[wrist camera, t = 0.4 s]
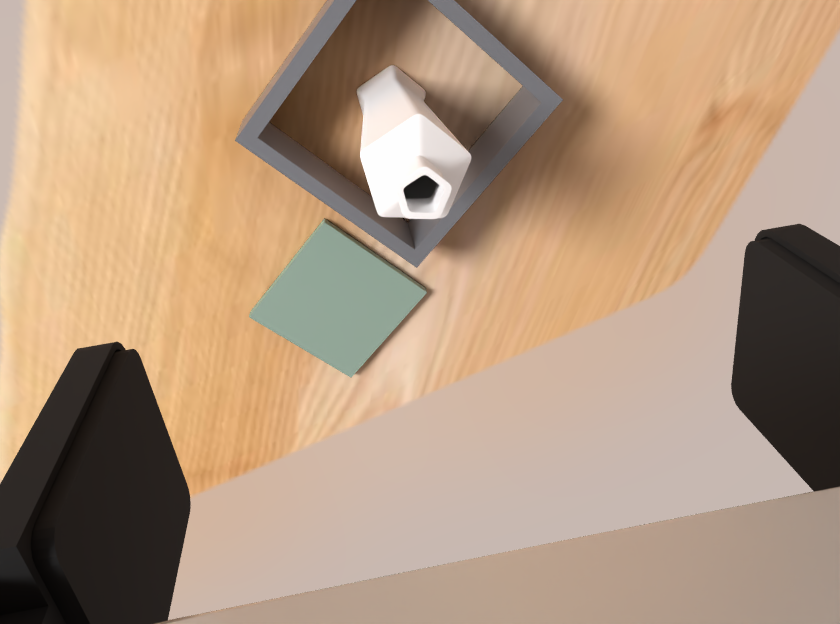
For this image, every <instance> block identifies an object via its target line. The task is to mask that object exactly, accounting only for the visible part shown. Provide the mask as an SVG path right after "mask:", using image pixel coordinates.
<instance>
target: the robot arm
mask: <svg viewBox="0 0 840 624" xmlns="http://www.w3.org/2000/svg"><path fill="white" fill-rule="evenodd" d="M731 387H732V388H731V389H732V395H733V398H734V401H735V403H736V405H737V406H738V408H739V409H740V410H741V411H742V412H743V413H744V415H745V416H746V417H747V418H748V419H749V420H750V421H751V422H752V423H753V425H754V426H755V427H756V428H757V429H758V430H759V431H760V432H761V433H762V435H763V436H764V437H765V438H766V439H767V440H768V441H769V442H770V443H771V444H772V445H773V447H774V448H775V449H776V450H777V451H778V452H779V453H780V454H781V455H782V457H783V458H784V459H785V460H786V461H787V462H788V463H789V464H790V465H791V467H793V469H794V470H795V471H796V472H797V473H798V474H799V475H800V477H801V478H802V479H803V480H804V481H805V482H806V483H807V484H808V485H809V486H810V488H811V489H812V490H813V491H814V492H809V493H804V494H798V495H793V496H788V497H783V498H778V499H773V500H767V501H763V502H757V503H752V504H747V505H742V506H737V507H732V508H727V509H721V510H716V511H711V512H706V513H700V514H695V515H691V516H685V517H680V518H675V519H670V520H665V521H659V522H655V523H649V524H644V525H639V526H634V527H629V528H624V529H619V530H614V531H609V532H604V533H599V534H593V535H588V536H583V537H578V538H573V539H568V540H563V541H558V542H553V543H548V544H543V545H539V546H533V547H528V548H524V549H518V550H513V551H508V552H503V553H498V554H493V555H488V556H483V557H478V558H473V559H468V560H463V561H458V562H453V563H448V564H443V565H438V566H433V567H428V568H423V569H418V570H413V571H408V572H403V573H398V574H394V575H389V576H383V577H378V578H374V579H369V580H364V581H360V582H354V583H350V584H344V585H340V586H335V587H330V588H325V589H320V590H315V591H310V592H305V593H300V594H295V595H291V596H285V597H280V598H276V599H271V600H266V601H261V602H256V603H251V604H246V605H241V606H236V607H231V608H226V609H221V610H216V611H211V612H207V613H202V614H197V615H192V616H187V617H182V618H177V619H172V620H168V616H169V611H170V606H171V601H172V597H173V592H174V586H175V582H176V577H177V572H178V567H179V563H180V557H181V553H182V548H183V543H184V538H185V534H186V528H187V524H188V518H189V514H190V494H189V489H188V486H187V483H186V480H185V477H184V475H183V472H182V469H181V467H180V464H179V461H178V458H177V456H176V453H175V450H174V448H173V445H172V442H171V439H170V437H169V434H168V431H167V429H166V426H165V423H164V420H163V418H162V415H161V412H160V410H159V407H158V404H157V401H156V399H155V396H154V393H153V391H152V388H151V385H150V382H149V380H148V377H147V374H146V371H145V369H144V366H143V363H142V361H141V358H140V356H139V354H138V352H137V351H136V350H135V349H130V350H125V348H124V347H123V346H122V344H121V343H119V342H114V343H108V344H102V345H97V346H91V347H85V348H79V349H77V350H76V351H75V352H74V354H73V355H72V357H71V359H70V361H69V363H68V364H67V366H66V368H65V370H64V371H63V373H62V375H61V377H60V379H59V380H58V382H57V384H56V386H55V387H54V389H53V391H52V393H51V395H50V396H49V398H48V400H47V402H46V404H45V405H44V407H43V409H42V411H41V412H40V414H39V416H38V418H37V420H36V421H35V423H34V425H33V427H32V428H31V430H30V432H29V434H28V436H27V437H26V439H25V441H24V443H23V444H22V446H21V448H20V450H19V452H18V453H17V455H16V457H15V459H14V461H13V462H12V464H11V466H10V468H9V469H8V471H7V473H6V475H5V477H4V478H3V480H2V482H1V484H0V624H840V246H839V245H837V244H835V243H833V242H832V241H830V240H828V239H827V238H825V237H823V236H821V235H820V234H818V233H816V232H815V231H813V230H811V229H810V228H808V227H806V226H804V225H801V224H796V225H790V226H784V227H778V228H772V229H767V230H762V231H760V232H759V233H758V234H757V236H756V238H755V241H751V242H750V243H749V244H748V245H747V247H746V251H745V258H744V267H743V277H742V286H741V296H740V306H739V315H738V325H737V335H736V345H735V355H734V365H733V374H732V383H731Z"/></svg>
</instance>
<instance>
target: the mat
mask: <svg viewBox="0 0 840 624" xmlns="http://www.w3.org/2000/svg"><path fill="white" fill-rule="evenodd" d="M426 293H427V291H426V288H425V287H423V286H422V285H420V284H419V283H417V282H416V281H415V280H413V279H412V278H410V277H409V276H407V275H406V274H404V273H403V272H402V271H400V270H399V269H397V268H396V267H394V266H393V265H391V264H390V263H388V262H387V261H386V260H384V259H383V258H381V257H380V256H378V255H377V254H375V253H374V252H373V251H371V250H370V249H368V248H367V247H365V246H364V245H362V244H361V243H359V242H358V241H357V240H355V239H354V238H352V237H351V236H349V235H348V234H346V233H345V232H344V231H342V230H341V229H339V228H338V227H336V226H335V225H333V224H332V223H330V222H329V221H328V220H326V219H325V218H324V220H323V221H322V222H321V223H320V225H319V226H318V227H317V228H316V230H315V231H314V232H313V234H312V235H311V236H310V237H309V239H308V240H307V241H306V242H305V244H304V245H303V246H302V247H301V249H300V250H299V251H298V252H297V254H296V255H295V256H294V257H293V259H292V260H291V261H290V263H289V264H288V265H287V266H286V268H285V269H284V270H283V271H282V273H281V274H280V275H279V276H278V278H277V279H276V280H275V281H274V283H273V284H272V285H271V287H270V288H269V289H268V290H267V292H266V293H265V294H264V295H263V297H262V298H261V299H260V300H259V302H258V303H257V304H256V305H255V307H254V308H253V309H252V311H251V312H250V315H249V317H250V318H251V319H253V320H255V321H257V322H258V323H260V324H262V325H263V326H265V327H267V328H268V329H270V330H272V331H273V332H275V333H277V334H278V335H280V336H282V337H284V338H285V339H287V340H289V341H290V342H292V343H294V344H295V345H297V346H299V347H300V348H302V349H304V350H305V351H307V352H309V353H310V354H312V355H314V356H316V357H317V358H319V359H321V360H322V361H324V362H326V363H327V364H329V365H331V366H332V367H334V368H336V369H337V370H339V371H341V372H342V373H344V374H346V375H348V376H349V377H352V376H353V375H354V374H355V373H356V372H357V371H358V369H359V368H360V367H361V366H362V365H363V364H364V363H365V362H366V360H367V359H368V358H369V357H370V356H371V355H372V354H373V353H374V351H375V350H376V349H377V348H378V347H379V346H380V345H381V344H382V342H383V341H384V340H385V339H386V338H387V337H388V336H389V335H390V334H391V332H392V331H393V330H394V329H395V328H396V327H397V326H398V325H399V323H400V322H401V321H402V320H403V319H404V318H405V317H406V316H407V314H408V313H409V312H410V311H411V310H412V309H413V308H414V307H415V305H416V304H417V303H418V302H419V301H420V300H421V299H422V298H423V296H424V295H425V294H426Z"/></svg>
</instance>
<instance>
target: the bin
mask: <svg viewBox="0 0 840 624" xmlns="http://www.w3.org/2000/svg"><path fill="white" fill-rule="evenodd" d="M355 1H356V0H327V1H326V3H325V4H324V5H323V7H322V8H321V10H320V11H319V13H318V14H317V15H316V17H315V18H314V20H313V21H312V23H311V24H310V25H309V27H308V28H307V30H306V31H305V32H304V34H303V35H302V37H301V38H300V40H299V41H298V42H297V44H296V45H295V47H294V48H293V50H292V51H291V52H290V54H289V55H288V57H287V58H286V59H285V61H284V62H283V64H282V65H281V67H280V68H279V69H278V71H277V72H276V74H275V75H274V77H273V78H272V79H271V81H270V82H269V84H268V85H267V86H266V88H265V89H264V91H263V92H262V94H261V95H260V96H259V98H258V99H257V101H256V102H255V103H254V105H253V106H252V108H251V109H250V111H249V112H248V113H247V115H246V116H245V118H244V119H243V121H242V123H241V126H240V129H239V131H238V134H237V137H236V139H235V141H236V142H238V143H239V144H241V145H242V146H244V147H245V148H246V149H248V150H249V151H251V152H252V153H254V154H255V155H256V156H258V157H259V158H261V159H262V160H264V161H265V162H266V163H268V164H269V165H271V166H272V167H274V168H275V169H276V170H278V171H279V172H281V173H282V174H284V175H285V176H286V177H288V178H289V179H291V180H292V181H294V182H295V183H296V184H298V185H299V186H301V187H302V188H304V189H305V190H306V191H308V192H309V193H311V194H312V195H314V196H315V197H316V198H318V199H319V200H321V201H322V202H324V203H325V204H326V205H328V206H329V207H331V208H332V209H334V210H335V211H336V212H338V213H339V214H341V215H342V216H344V217H345V218H346V219H348V220H349V221H351V222H352V223H354V224H355V225H356V226H358V227H359V228H361V229H362V230H364V231H365V232H366V233H368V234H369V235H371V236H372V237H374V238H375V239H376V240H378V241H379V242H381V243H382V244H384V245H385V246H386V247H388V248H389V249H391V250H392V251H394V252H395V253H396V254H398V255H399V256H401V257H402V258H404V259H405V260H406V261H408V262H409V263H411V264H412V265H414V266H415V267H416V268H417V267H418V266H419V265H420V263H421V262H422V261H423V260H424V259H425V258H426V257H427V255H428V254H429V253H430V252H431V251H432V250H433V249H434V247H435V246H436V245H437V244H438V243H439V242H440V240H441V239H442V238H443V237H444V236H445V235H446V234H447V232H448V231H449V230H450V229H451V228H452V227H453V226H454V224H455V223H456V222H457V221H458V220H459V219H460V218H461V216H462V215H463V214H464V213H465V212H466V211H467V209H468V208H469V207H470V206H471V205H472V204H473V203H474V201H475V200H476V199H477V198H478V197H479V196H480V195H481V193H482V192H483V191H484V190H485V189H486V188H487V187H488V185H489V184H490V183H491V182H492V181H493V180H494V178H495V177H496V176H497V175H498V174H499V173H500V172H501V170H502V169H503V168H504V167H505V166H506V165H507V164H508V162H509V161H510V160H511V159H512V158H513V157H514V156H515V154H516V153H517V152H518V151H519V150H520V149H521V147H522V146H523V145H524V144H525V143H526V142H527V141H528V139H529V138H530V137H531V136H532V135H533V134H534V133H535V131H536V130H537V129H538V128H539V127H540V126H541V125H542V123H543V122H544V121H545V120H546V119H547V118H548V116H549V115H550V114H551V113H552V112H553V111H554V110H555V108H556V107H557V106H558V105H559V104H560V103H561V102H562V100H563V99H562V98H561V97H559V96H558V95H557V94H556V93H555V92H554V91H553V90H552V89H551V88H550V87H549V86H547V85H546V84H545V83H544V82H543V81H542V80H541V79H540V78H539V77H538V76H537V75H535V74H534V73H533V72H532V71H531V70H530V69H529V68H528V67H527V66H526V65H524V64H523V63H522V62H521V61H520V60H519V59H518V58H517V57H516V56H515V55H514V54H512V53H511V52H510V51H509V50H508V49H507V48H506V47H505V46H504V45H503V44H502V43H500V42H499V41H498V40H497V39H496V38H495V37H494V36H493V35H492V34H491V33H490V32H488V31H487V30H486V29H485V28H484V27H483V26H482V25H481V24H480V23H479V22H477V21H476V20H475V19H474V18H473V17H472V16H471V15H470V14H469V13H468V12H467V11H465V10H464V9H463V8H462V7H461V6H460V5H459V4H458V3H457V2H456V1H455V0H428V1H429V2H430V3H431V4H432V5H434V6H435V7H436V8H437V9H438V10H439V11H440V12H441V13H443V14H444V15H445V16H446V17H447V18H448V19H449V20H450V21H451V22H453V23H454V24H455V25H456V26H457V27H458V28H459V29H460V30H461V31H463V32H464V33H465V34H466V35H467V36H468V37H469V38H470V39H471V40H473V41H474V42H475V43H476V44H477V45H478V46H479V47H480V48H482V49H483V50H484V51H485V52H486V53H487V54H488V55H489V56H490V57H492V58H493V59H494V60H495V61H496V62H497V63H498V64H499V65H500V66H502V67H503V68H504V69H505V70H506V71H507V72H508V73H509V74H510V75H512V76H513V77H514V78H515V79H516V80H517V81H518V82H519V83H521V84H522V85H523V87H522V88H521V89H520V90H519V91H518V92H517V94H516V95H515V96H514V97H513V98H512V100H511V101H510V102H509V103H508V104H507V106H506V107H505V108H504V109H503V110H502V111H501V113H500V114H499V115H498V116H497V117H496V119H495V120H494V121H493V122H492V123H491V125H490V126H489V127H488V128H487V129H486V130H485V132H484V133H483V134H482V135H481V136H480V138H479V139H478V140H477V141H476V142H475V143H474V145H473V146H472V147H471V148H470V149H469V151H468V152H469V153H470V154H471V162H470V164H469V166H468V169H467V171H466V173H465V176H464V178H463V180H462V182H461V185H460V187H459V189H458V192H457V194H456V196H455V199H454V201H453V203H452V206H451V208H450V210H449V213H448V214H447V216H445V217H444V218H437V219H410V221H409V222H408V223H407V222H406V221H404V220H403V219H402V218H400V217H381V216H380V215H378V213H377V211H376V207H375V204H374V201H373V198H372V197H371V196H370V195H369V194H367V193H366V192H365V191H363V190H362V189H360V188H359V187H358V186H356V185H355V184H354V183H352V182H351V181H349V180H348V179H347V178H345V177H344V176H343V175H341V174H340V173H338V172H337V171H336V170H334V169H333V168H332V167H330V166H329V165H327V164H326V163H325V162H323V161H322V160H321V159H319V158H318V157H316V156H315V155H314V154H312V153H311V152H310V151H308V150H307V149H305V148H304V147H303V146H301V145H300V144H299V143H297V142H296V141H294V140H293V139H292V138H290V137H289V136H288V135H286V134H285V133H283V132H282V131H281V130H279V129H278V128H277V127H275V126H274V125H272V124H271V123H270V122H269V121H270V120H271V118H272V117H273V115H274V114H275V113H276V111H277V110H278V108H279V107H280V106H281V104H282V103H283V102H284V100H285V99H286V97H287V96H288V95H289V93H290V92H291V90H292V89H293V88H294V86H295V85H296V83H297V82H298V81H299V79H300V78H301V76H302V75H303V74H304V72H305V71H306V70H307V68H308V67H309V65H310V64H311V63H312V61H313V60H314V58H315V57H316V56H317V54H318V53H319V51H320V50H321V49H322V47H323V46H324V44H325V43H326V42H327V40H328V39H329V38H330V36H331V35H332V33H333V32H334V31H335V29H336V28H337V26H338V25H339V24H340V22H341V21H342V19H343V18H344V17H345V15H346V14H347V12H348V11H349V10H350V8H351V7H352V6H353V4H354V3H355Z"/></svg>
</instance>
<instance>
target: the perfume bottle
mask: <svg viewBox="0 0 840 624" xmlns="http://www.w3.org/2000/svg"><path fill="white" fill-rule="evenodd" d="M357 96H358V99H359V103H360V106H361V110H362V113H363V126H362V138H361V150H360V159H361V162H362V165H363V168H364V172H365V175H366V178H367V181H368V185H369V188H370V191H371V194H372V198H373V201H374V204H375V207H376V211H377V213H378V215H380V216H381V217H405V218H408V219H437V218H444V217H445V216H447V214H448V213H449V210H450V208H451V206H452V203H453V201H454V199H455V196H456V194H457V192H458V189H459V187H460V185H461V182H462V180H463V178H464V176H465V173H466V171H467V169H468V166H469V164H470V162H471V154H470V153H469V152H468V151H467V150H466V149H465V147H464V146H463V145H462V144H461V143H460V142H459V141H458V140H457V138H456V137H455V136H454V135H453V134H452V133H451V132H450V131H449V129H448V128H447V127H446V126H445V125H444V124H443V123H442V122H441V120H440V119H439V118H438V117H437V116H436V115H435V114H434V113H433V111H432V110H431V109H430V108H429V107H428V106H427V105H426V104H425V102H424V99H425V97H426V91H425V90H424V89H423V88H422V87H421V86H419V85H418V84H417V83H416V82H414V81H413V80H412V79H411V78H410V77H408V76H407V75H406V74H405V73H404V72H402V71H401V70H400V69H399V68H398V67H396V66H395V65H390V66H388V67H387V68H386V69H384V70H383V71H381V72H380V73H378V74H377V75H375V76H374V77H373V78H371V79H370V80H368V81H367V82H365V83H364V84H362V85H361V86H360V87H359V88H358V89H357Z"/></svg>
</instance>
